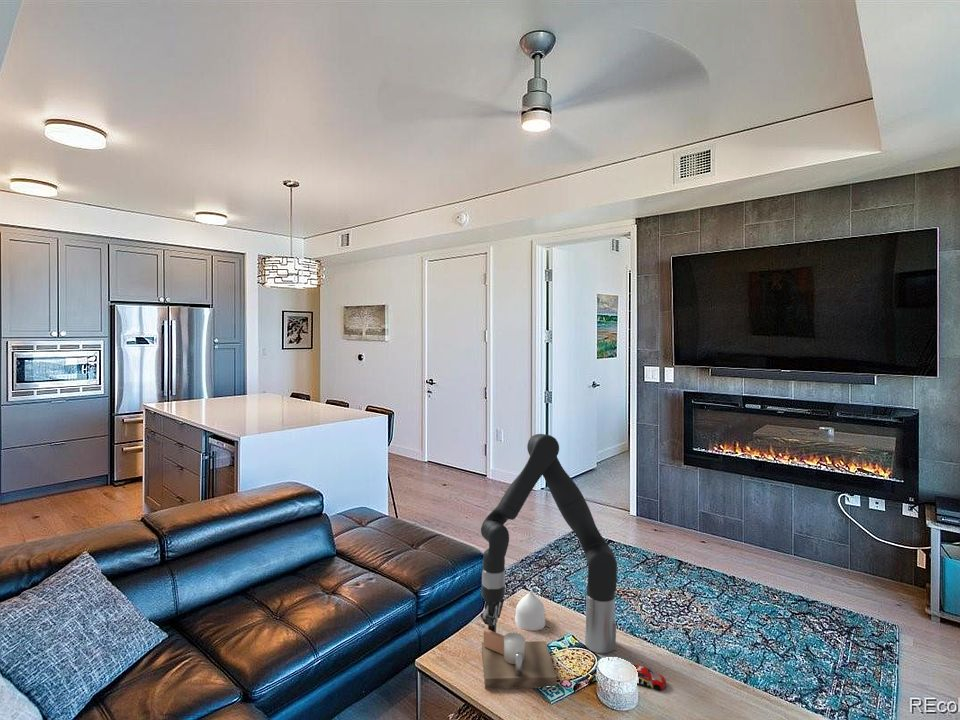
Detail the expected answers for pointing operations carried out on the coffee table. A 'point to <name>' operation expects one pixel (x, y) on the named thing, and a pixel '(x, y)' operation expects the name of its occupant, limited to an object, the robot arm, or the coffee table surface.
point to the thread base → (529, 668)
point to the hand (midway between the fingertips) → (491, 634)
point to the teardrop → (530, 613)
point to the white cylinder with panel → (505, 644)
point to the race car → (650, 678)
